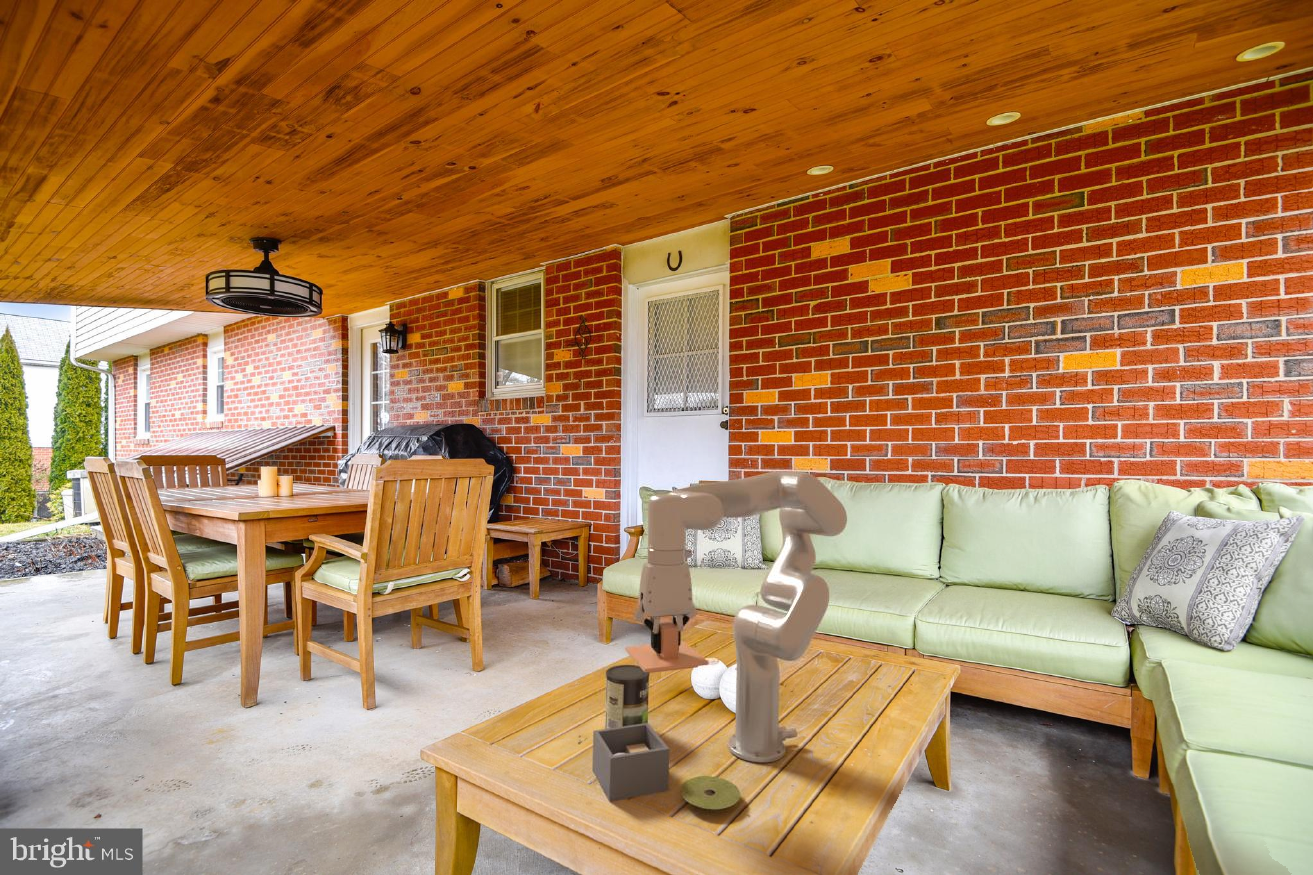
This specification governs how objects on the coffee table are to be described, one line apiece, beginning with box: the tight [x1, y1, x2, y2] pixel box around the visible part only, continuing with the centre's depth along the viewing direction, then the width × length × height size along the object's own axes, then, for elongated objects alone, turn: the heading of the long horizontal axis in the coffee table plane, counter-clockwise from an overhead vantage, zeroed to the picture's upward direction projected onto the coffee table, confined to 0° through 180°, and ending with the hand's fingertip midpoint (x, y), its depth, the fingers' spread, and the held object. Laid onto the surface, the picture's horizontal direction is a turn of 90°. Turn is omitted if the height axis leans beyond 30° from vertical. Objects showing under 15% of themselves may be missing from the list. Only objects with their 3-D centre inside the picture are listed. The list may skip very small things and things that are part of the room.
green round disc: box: [680, 775, 741, 810], centre depth 114 cm, size 11×11×2 cm
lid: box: [624, 618, 709, 674], centre depth 119 cm, size 13×13×7 cm
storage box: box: [591, 722, 670, 802], centre depth 121 cm, size 12×12×8 cm
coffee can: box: [604, 664, 651, 729], centre depth 142 cm, size 10×10×14 cm
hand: (665, 649), depth 119 cm, fingers closed on lid, 3 cm apart
